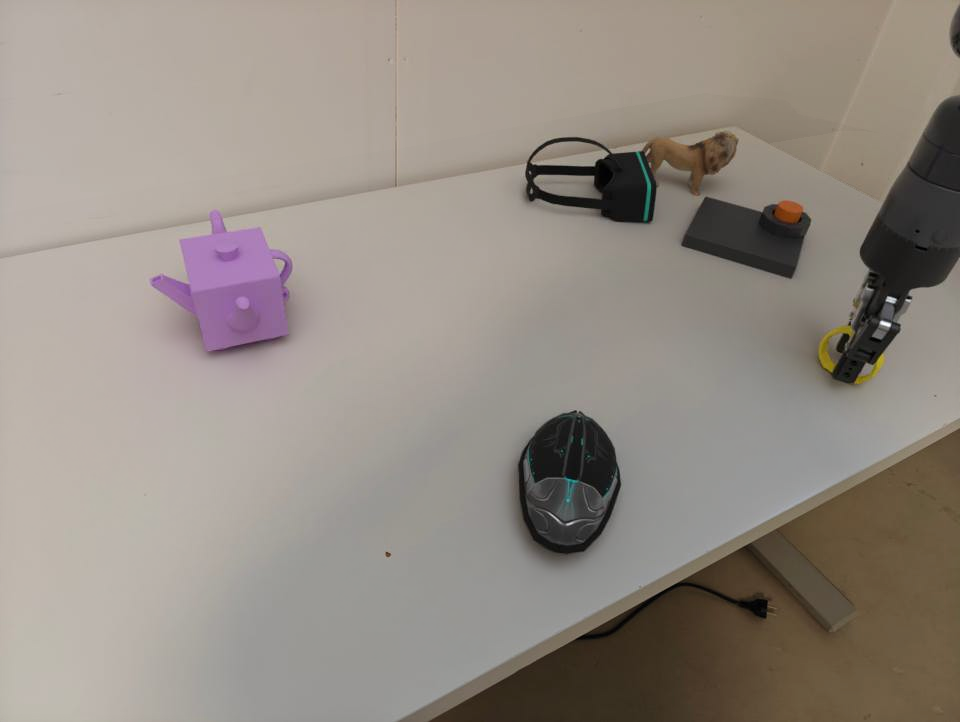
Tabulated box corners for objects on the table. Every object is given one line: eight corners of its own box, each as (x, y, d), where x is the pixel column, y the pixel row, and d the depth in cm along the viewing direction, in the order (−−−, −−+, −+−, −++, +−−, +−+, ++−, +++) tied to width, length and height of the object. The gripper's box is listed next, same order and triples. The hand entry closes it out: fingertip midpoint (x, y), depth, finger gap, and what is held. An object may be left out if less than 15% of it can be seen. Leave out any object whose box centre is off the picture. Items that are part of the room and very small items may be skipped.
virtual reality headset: (652, 223, 93) (661, 153, 86) (527, 229, 94) (526, 160, 87) (639, 185, 101) (646, 118, 94) (524, 190, 102) (523, 124, 95)
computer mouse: (622, 425, 65) (635, 380, 61) (609, 582, 52) (626, 539, 48) (531, 407, 66) (539, 362, 62) (498, 557, 53) (505, 512, 49)
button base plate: (803, 234, 94) (813, 212, 92) (791, 279, 86) (802, 255, 83) (702, 206, 98) (709, 184, 96) (681, 246, 90) (688, 222, 87)
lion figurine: (721, 184, 104) (740, 126, 98) (723, 201, 100) (743, 142, 94) (623, 170, 105) (637, 112, 99) (622, 185, 101) (636, 126, 95)
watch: (806, 363, 74) (829, 320, 70) (819, 354, 75) (842, 310, 71) (859, 395, 70) (886, 351, 66) (872, 384, 72) (899, 341, 68)
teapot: (158, 289, 75) (135, 209, 69) (280, 268, 80) (269, 191, 73) (178, 398, 63) (152, 314, 57) (319, 366, 68) (310, 285, 61)
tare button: (799, 216, 92) (805, 204, 90) (796, 226, 89) (802, 214, 88) (775, 209, 93) (780, 197, 91) (771, 219, 90) (776, 207, 89)
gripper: (883, 178, 66) (813, 318, 78) (876, 246, 57) (797, 394, 68) (968, 200, 64) (884, 340, 76) (976, 274, 54) (878, 422, 66)
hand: (843, 365), depth 72 cm, fingers open, 4 cm apart
